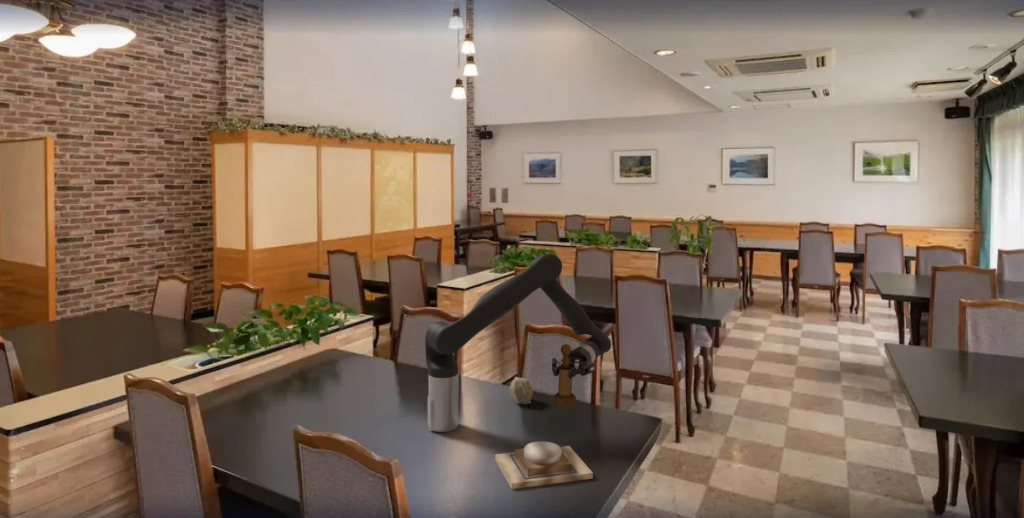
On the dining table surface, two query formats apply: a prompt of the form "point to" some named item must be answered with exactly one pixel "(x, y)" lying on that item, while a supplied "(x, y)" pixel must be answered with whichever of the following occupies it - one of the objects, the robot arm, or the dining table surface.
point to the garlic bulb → (521, 391)
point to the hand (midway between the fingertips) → (562, 373)
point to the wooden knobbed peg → (565, 382)
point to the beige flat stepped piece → (542, 465)
